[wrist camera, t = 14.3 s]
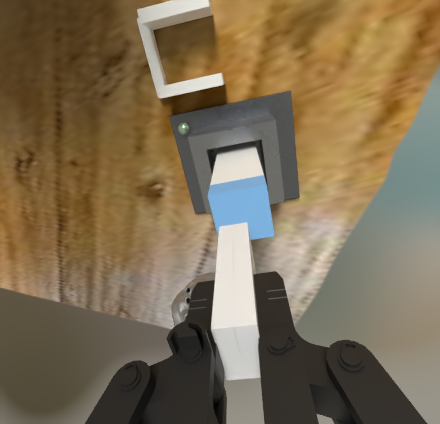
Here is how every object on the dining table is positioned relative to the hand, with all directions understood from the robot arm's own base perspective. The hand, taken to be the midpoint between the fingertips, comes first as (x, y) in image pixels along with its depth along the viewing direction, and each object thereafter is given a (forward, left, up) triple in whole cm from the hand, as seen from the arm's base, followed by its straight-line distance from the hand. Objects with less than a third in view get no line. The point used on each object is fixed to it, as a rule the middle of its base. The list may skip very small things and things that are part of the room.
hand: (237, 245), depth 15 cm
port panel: (0, 0, -19) cm, 19 cm away
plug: (+1, 0, -19) cm, 19 cm away
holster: (-11, -3, -19) cm, 22 cm away
